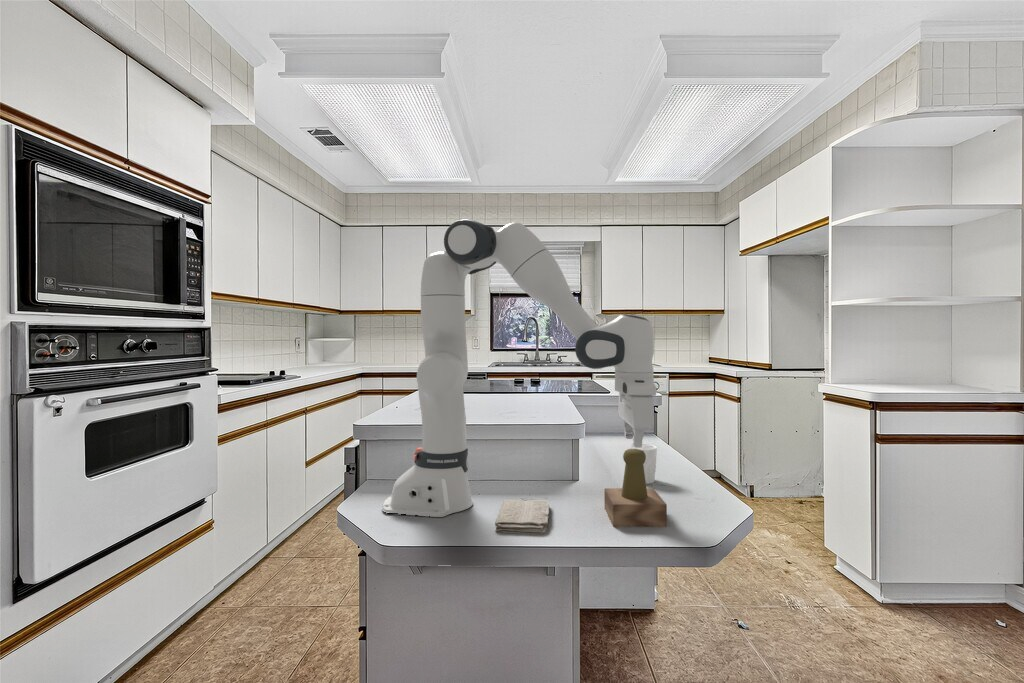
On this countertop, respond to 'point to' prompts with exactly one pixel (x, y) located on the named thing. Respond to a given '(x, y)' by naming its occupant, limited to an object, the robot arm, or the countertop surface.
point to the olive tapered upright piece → (634, 475)
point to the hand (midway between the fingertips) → (632, 442)
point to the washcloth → (523, 516)
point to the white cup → (648, 461)
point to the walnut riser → (635, 509)
